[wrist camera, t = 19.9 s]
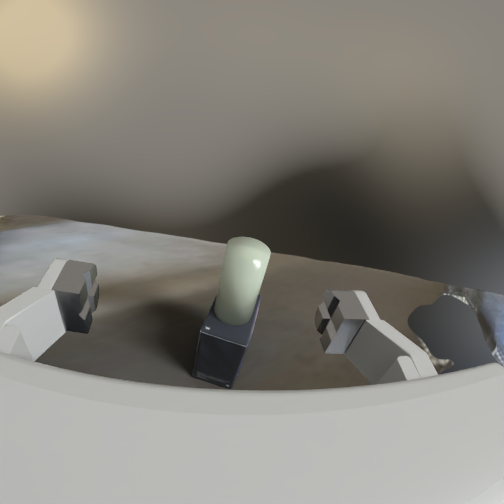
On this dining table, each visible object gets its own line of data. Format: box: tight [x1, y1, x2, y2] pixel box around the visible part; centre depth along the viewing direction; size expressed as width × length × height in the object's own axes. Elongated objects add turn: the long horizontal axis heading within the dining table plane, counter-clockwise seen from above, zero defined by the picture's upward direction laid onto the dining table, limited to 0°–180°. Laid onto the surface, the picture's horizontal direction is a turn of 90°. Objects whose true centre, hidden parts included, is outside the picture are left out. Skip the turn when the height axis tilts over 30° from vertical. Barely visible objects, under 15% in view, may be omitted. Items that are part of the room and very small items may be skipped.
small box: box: [192, 295, 261, 389], centre depth 43 cm, size 11×6×10 cm, turn 168°
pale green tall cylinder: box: [214, 237, 270, 326], centre depth 38 cm, size 5×5×10 cm
